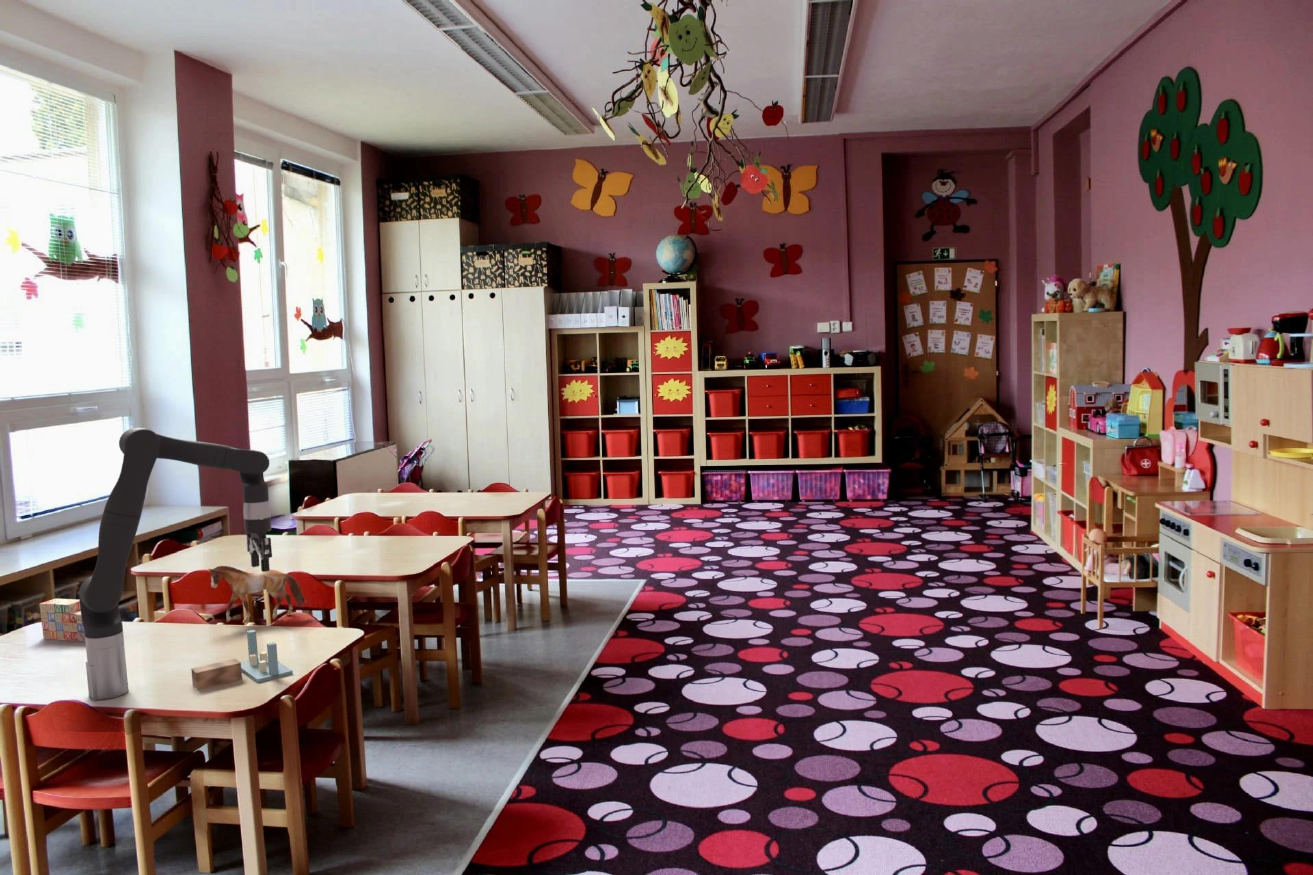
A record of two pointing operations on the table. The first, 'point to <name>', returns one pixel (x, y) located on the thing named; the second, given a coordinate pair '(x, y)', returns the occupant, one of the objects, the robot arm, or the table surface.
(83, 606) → the robot arm
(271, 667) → the peg stand
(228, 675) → the brown wooden block
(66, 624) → the stack of blocks
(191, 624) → the table surface
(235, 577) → the horse figurine
